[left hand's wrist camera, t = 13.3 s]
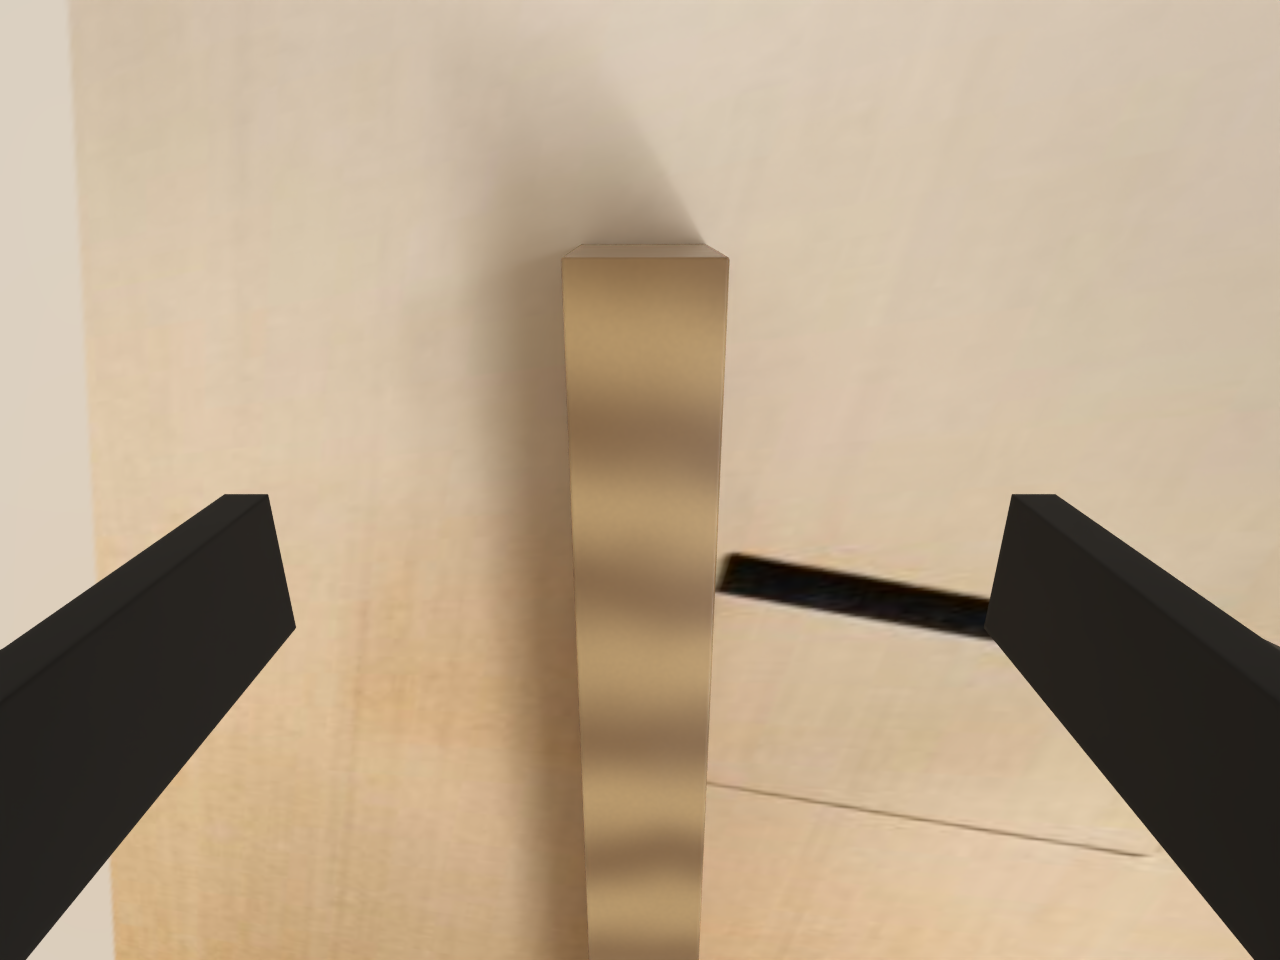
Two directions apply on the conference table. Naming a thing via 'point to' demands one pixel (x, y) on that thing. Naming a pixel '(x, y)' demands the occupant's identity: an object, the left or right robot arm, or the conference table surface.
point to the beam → (644, 577)
